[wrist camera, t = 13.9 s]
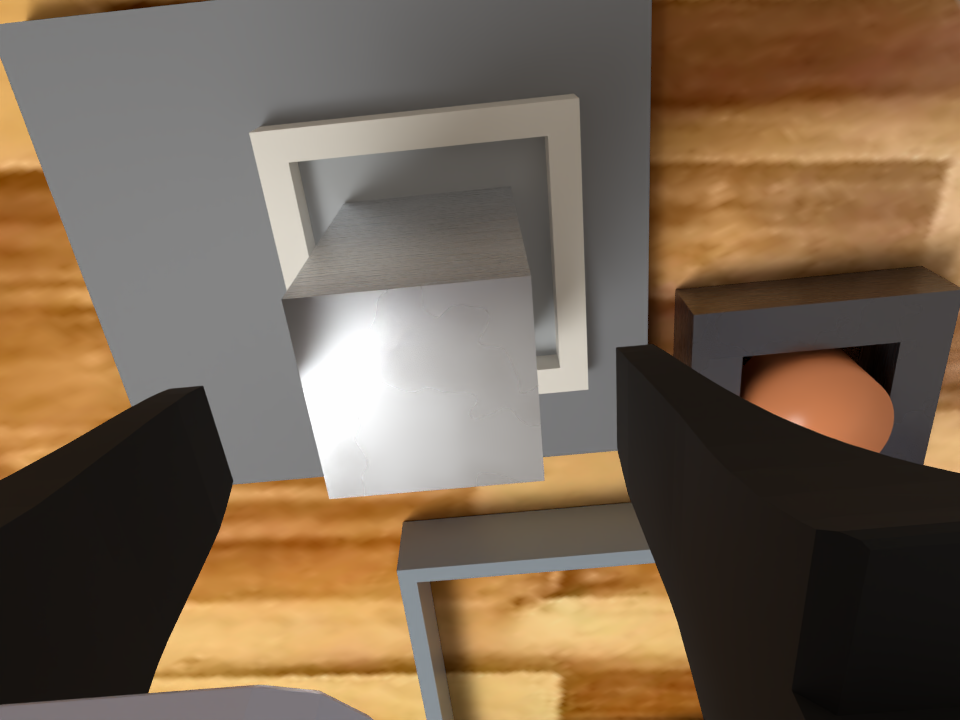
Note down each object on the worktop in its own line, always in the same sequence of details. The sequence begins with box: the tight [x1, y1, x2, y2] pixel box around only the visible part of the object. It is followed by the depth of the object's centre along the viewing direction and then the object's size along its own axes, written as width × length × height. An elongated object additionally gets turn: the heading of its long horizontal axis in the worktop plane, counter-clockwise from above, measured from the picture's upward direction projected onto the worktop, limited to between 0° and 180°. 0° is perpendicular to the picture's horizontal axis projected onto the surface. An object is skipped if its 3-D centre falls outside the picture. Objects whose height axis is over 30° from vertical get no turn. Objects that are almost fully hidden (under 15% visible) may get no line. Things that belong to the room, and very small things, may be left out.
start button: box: [740, 348, 894, 453], centre depth 22 cm, size 4×4×2 cm
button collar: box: [673, 266, 960, 465], centre depth 22 cm, size 8×8×2 cm
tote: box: [397, 503, 655, 720], centre depth 27 cm, size 13×13×2 cm
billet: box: [281, 186, 544, 499], centre depth 17 cm, size 4×4×7 cm
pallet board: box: [0, 0, 652, 484], centre depth 20 cm, size 16×14×2 cm
